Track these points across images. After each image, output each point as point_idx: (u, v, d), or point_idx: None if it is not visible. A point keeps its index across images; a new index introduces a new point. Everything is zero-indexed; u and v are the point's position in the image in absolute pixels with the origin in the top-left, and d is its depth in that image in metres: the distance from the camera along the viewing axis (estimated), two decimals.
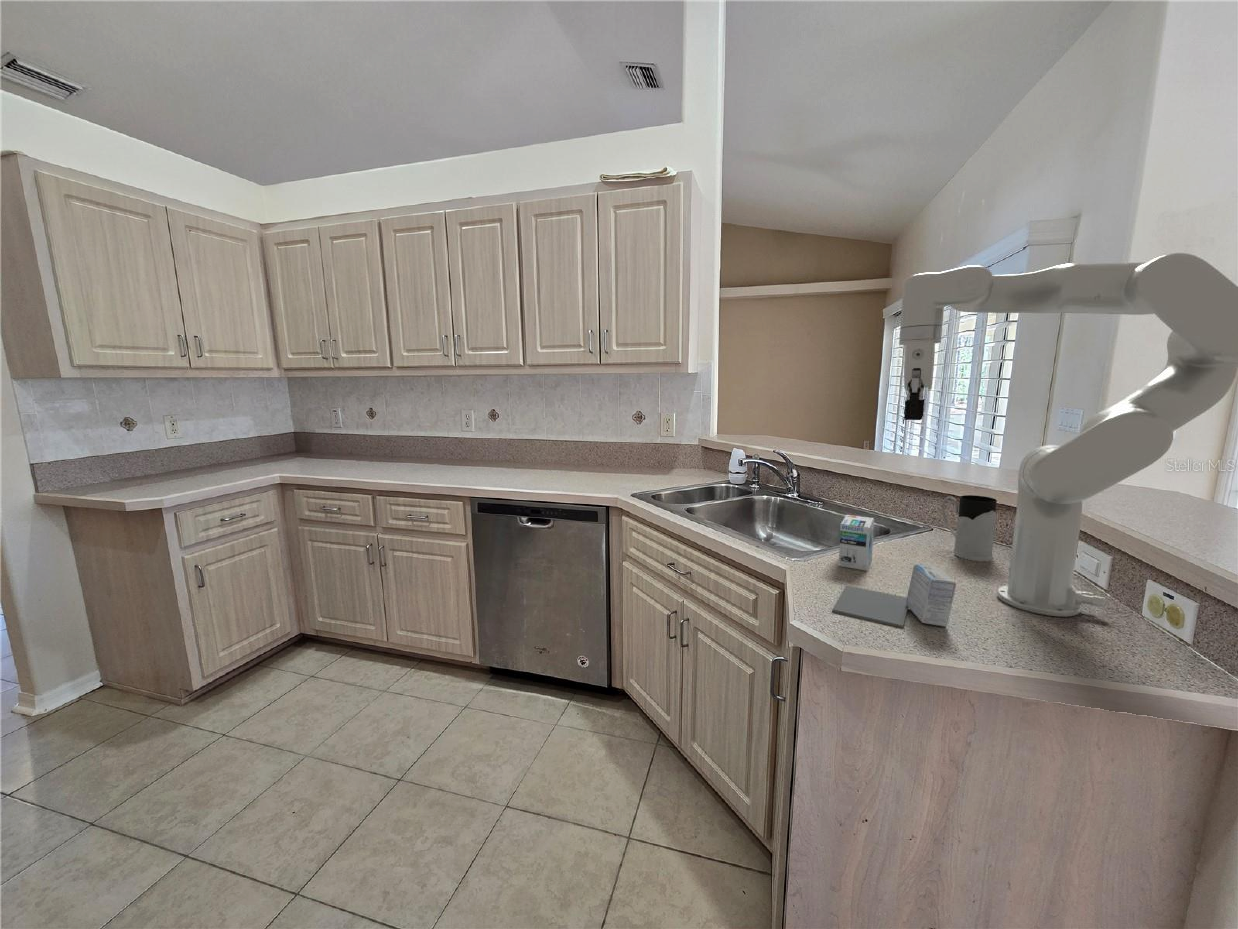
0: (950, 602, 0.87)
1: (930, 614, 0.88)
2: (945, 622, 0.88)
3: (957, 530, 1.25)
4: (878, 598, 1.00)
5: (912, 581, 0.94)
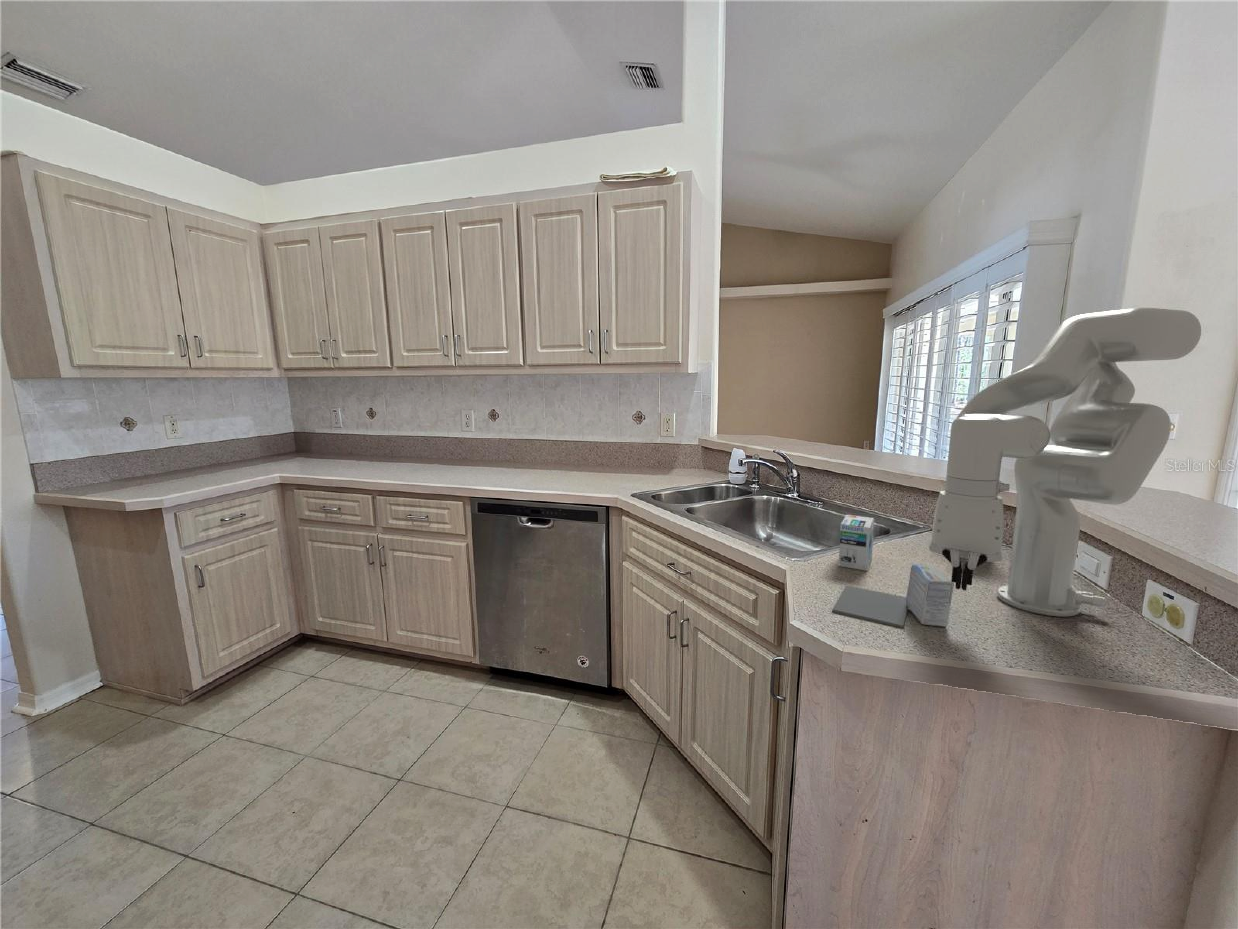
0: (949, 602, 0.87)
1: (930, 615, 0.88)
2: (945, 622, 0.88)
3: None
4: (878, 598, 1.00)
5: (910, 581, 0.94)
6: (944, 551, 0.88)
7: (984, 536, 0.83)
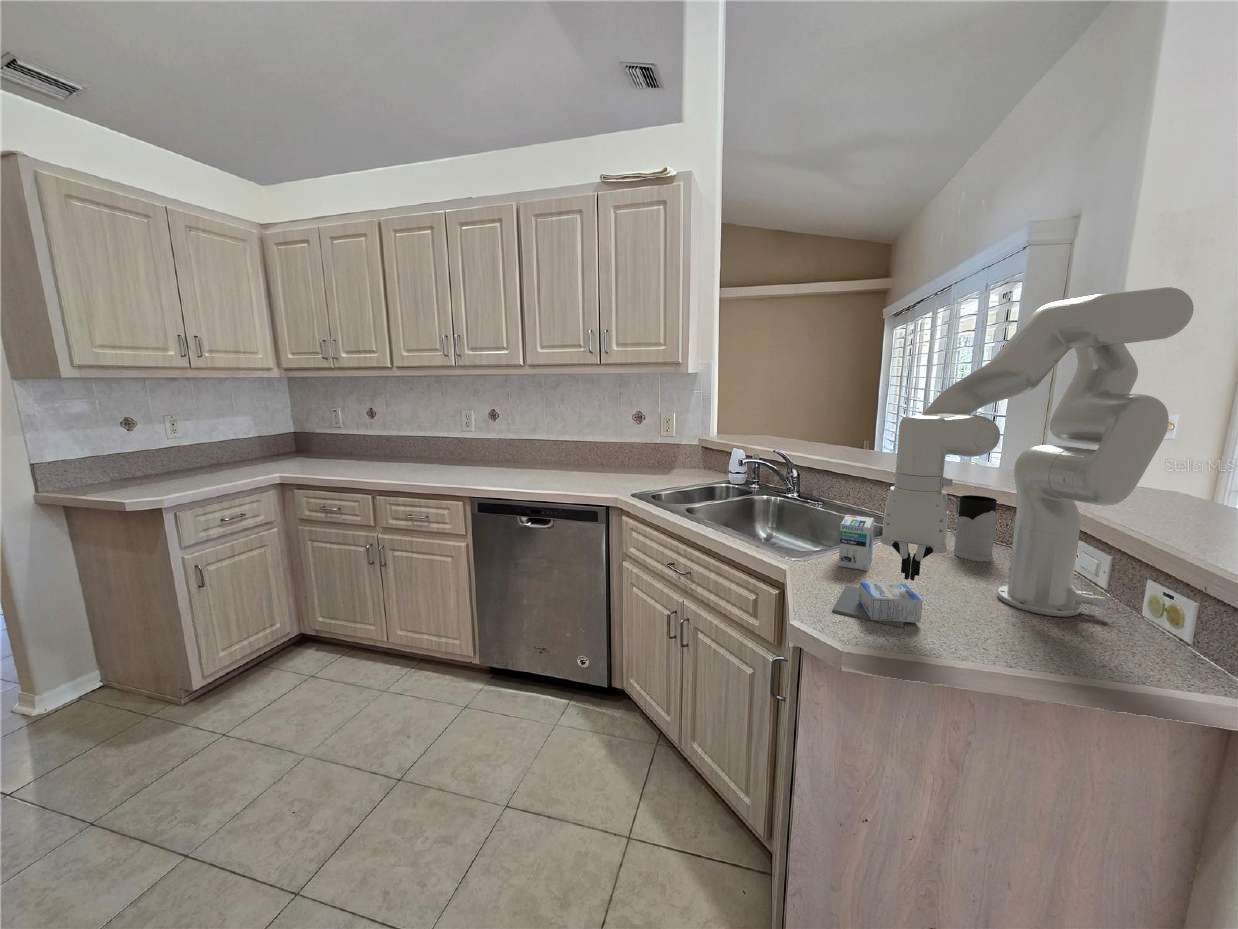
0: (893, 601, 0.89)
1: (909, 616, 0.89)
2: (917, 603, 0.88)
3: (957, 530, 1.25)
4: None
5: None
6: (894, 543, 0.93)
7: (929, 529, 0.88)
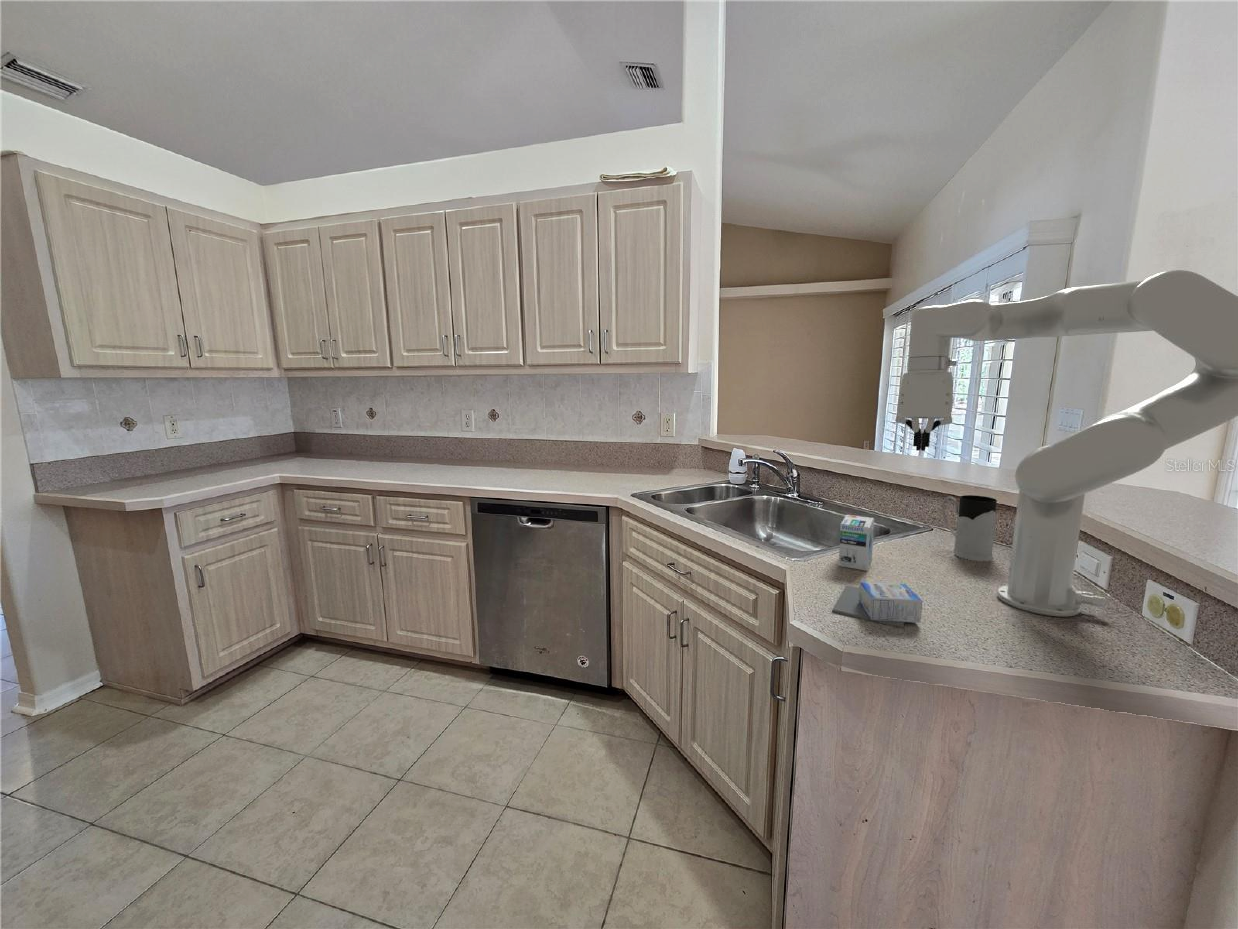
0: (893, 601, 0.89)
1: (909, 616, 0.89)
2: (917, 603, 0.88)
3: (957, 530, 1.25)
4: None
5: None
6: (907, 421, 1.09)
7: (937, 403, 1.04)
